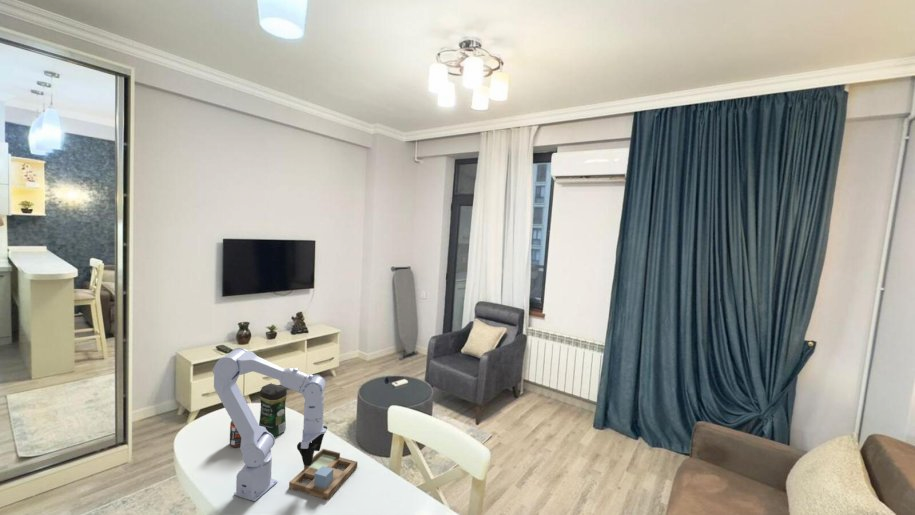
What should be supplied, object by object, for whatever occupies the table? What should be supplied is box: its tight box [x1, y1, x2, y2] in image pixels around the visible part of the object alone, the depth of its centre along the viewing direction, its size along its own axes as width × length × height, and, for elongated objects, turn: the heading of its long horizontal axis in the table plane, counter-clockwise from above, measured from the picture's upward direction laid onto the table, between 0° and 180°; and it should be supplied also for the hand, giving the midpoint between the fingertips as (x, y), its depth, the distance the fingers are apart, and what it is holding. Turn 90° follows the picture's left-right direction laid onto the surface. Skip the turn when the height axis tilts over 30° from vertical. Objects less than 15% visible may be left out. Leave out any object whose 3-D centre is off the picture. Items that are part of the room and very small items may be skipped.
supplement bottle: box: [229, 420, 241, 448], centre depth 141 cm, size 6×6×11 cm
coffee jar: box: [258, 382, 288, 437], centre depth 150 cm, size 10×8×19 cm
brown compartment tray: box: [288, 448, 359, 501], centre depth 126 cm, size 17×14×4 cm
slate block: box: [314, 466, 333, 489], centre depth 120 cm, size 4×4×4 cm
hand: (312, 457), depth 121 cm, fingers open, 7 cm apart
